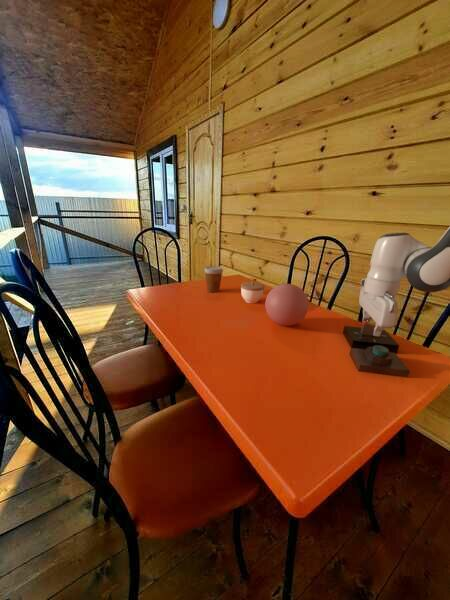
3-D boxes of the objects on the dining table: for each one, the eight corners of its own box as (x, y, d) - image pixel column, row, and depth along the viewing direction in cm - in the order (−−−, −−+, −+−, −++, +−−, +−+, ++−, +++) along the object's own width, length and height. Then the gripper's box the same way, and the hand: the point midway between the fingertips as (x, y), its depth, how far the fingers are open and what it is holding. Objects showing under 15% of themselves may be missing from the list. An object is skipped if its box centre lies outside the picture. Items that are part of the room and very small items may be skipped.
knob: (378, 334, 83) (381, 322, 81) (380, 336, 81) (383, 324, 80) (360, 332, 83) (362, 320, 82) (361, 334, 82) (364, 322, 81)
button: (383, 351, 71) (385, 345, 71) (389, 358, 68) (390, 352, 67) (370, 349, 72) (371, 344, 71) (374, 356, 68) (376, 350, 68)
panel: (382, 337, 87) (384, 329, 86) (396, 354, 77) (399, 345, 76) (342, 333, 89) (344, 325, 88) (351, 348, 79) (353, 339, 78)
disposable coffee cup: (223, 288, 136) (224, 266, 132) (220, 293, 128) (221, 270, 124) (206, 287, 138) (206, 265, 134) (202, 292, 129) (202, 269, 125)
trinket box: (263, 298, 123) (264, 279, 120) (262, 305, 113) (264, 285, 110) (241, 296, 125) (242, 277, 121) (239, 303, 115) (240, 283, 111)
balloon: (322, 324, 96) (329, 285, 91) (284, 336, 85) (289, 293, 80) (291, 311, 108) (296, 276, 103) (255, 320, 98) (258, 281, 92)
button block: (392, 359, 74) (396, 347, 73) (407, 377, 66) (411, 364, 65) (349, 354, 76) (351, 342, 75) (358, 371, 68) (361, 358, 67)
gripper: (409, 299, 67) (395, 345, 71) (379, 280, 86) (370, 317, 90) (383, 297, 68) (371, 342, 72) (359, 278, 87) (351, 315, 91)
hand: (370, 328), depth 82 cm, fingers open, 8 cm apart
